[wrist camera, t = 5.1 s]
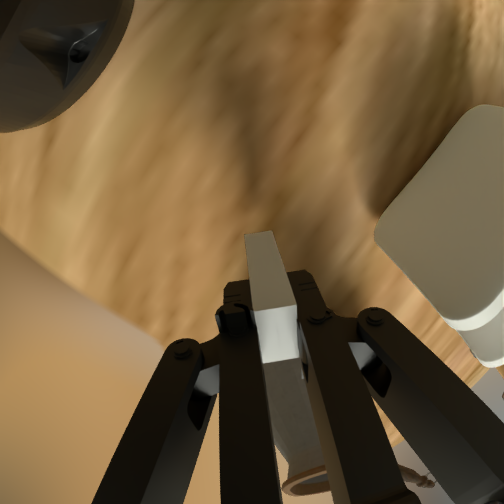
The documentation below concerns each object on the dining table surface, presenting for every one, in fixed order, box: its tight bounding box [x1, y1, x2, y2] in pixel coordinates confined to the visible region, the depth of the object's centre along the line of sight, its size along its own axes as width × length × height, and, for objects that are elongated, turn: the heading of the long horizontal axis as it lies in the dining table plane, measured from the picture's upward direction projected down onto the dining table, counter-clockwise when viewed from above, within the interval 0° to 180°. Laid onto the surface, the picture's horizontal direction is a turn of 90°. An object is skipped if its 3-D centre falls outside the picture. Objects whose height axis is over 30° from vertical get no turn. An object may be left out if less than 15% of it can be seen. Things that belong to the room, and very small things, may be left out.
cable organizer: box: [374, 104, 504, 368], centre depth 14 cm, size 15×11×12 cm
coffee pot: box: [263, 353, 437, 496], centre depth 19 cm, size 21×12×15 cm, turn 54°
